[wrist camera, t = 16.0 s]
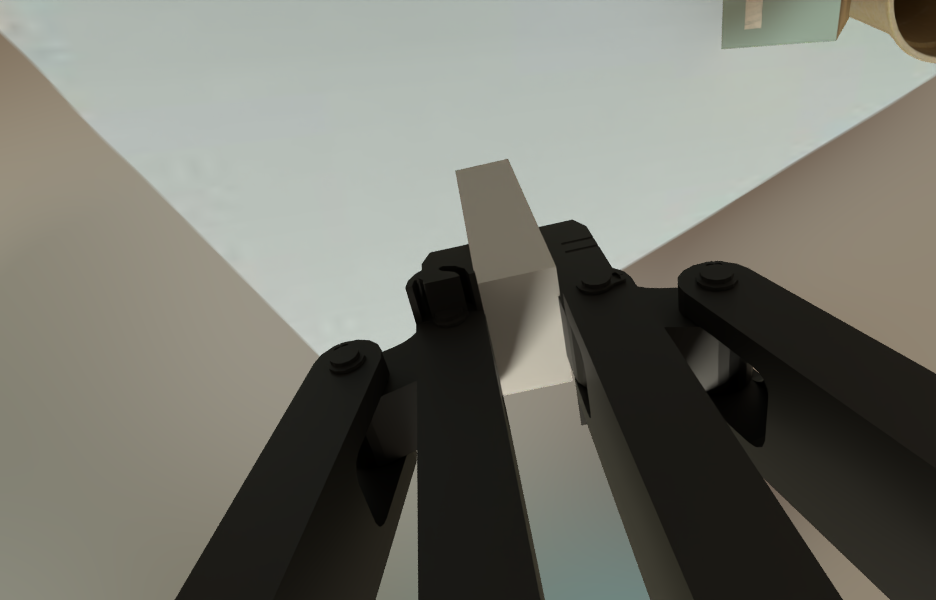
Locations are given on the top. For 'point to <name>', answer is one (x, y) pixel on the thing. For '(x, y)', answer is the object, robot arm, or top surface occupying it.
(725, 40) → the tan cube
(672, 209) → the top surface
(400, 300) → the top surface
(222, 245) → the top surface
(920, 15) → the flower pot
